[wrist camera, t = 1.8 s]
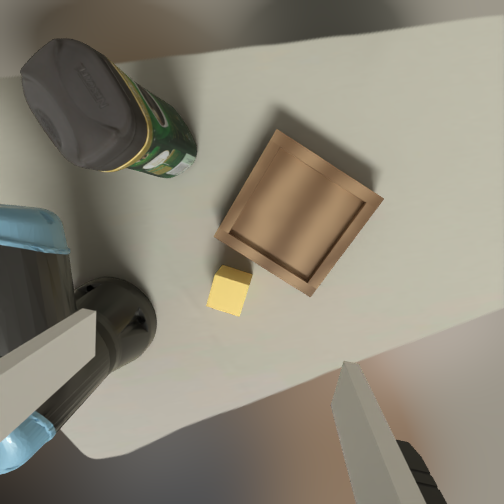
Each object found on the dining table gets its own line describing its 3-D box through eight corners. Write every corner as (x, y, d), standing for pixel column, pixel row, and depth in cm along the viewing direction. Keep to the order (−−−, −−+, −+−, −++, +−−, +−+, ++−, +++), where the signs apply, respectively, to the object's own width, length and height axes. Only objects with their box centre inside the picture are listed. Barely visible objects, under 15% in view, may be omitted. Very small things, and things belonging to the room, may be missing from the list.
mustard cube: (214, 292, 42) (206, 306, 37) (222, 264, 41) (214, 274, 36) (243, 302, 42) (239, 316, 37) (252, 274, 41) (249, 285, 36)
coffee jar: (126, 129, 38) (-14, 71, 20) (169, 95, 36) (59, 0, 18) (164, 187, 39) (66, 185, 21) (207, 158, 37) (141, 128, 19)
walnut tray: (219, 232, 40) (213, 236, 36) (276, 135, 36) (276, 128, 32) (307, 287, 40) (310, 297, 36) (373, 197, 36) (384, 198, 33)
